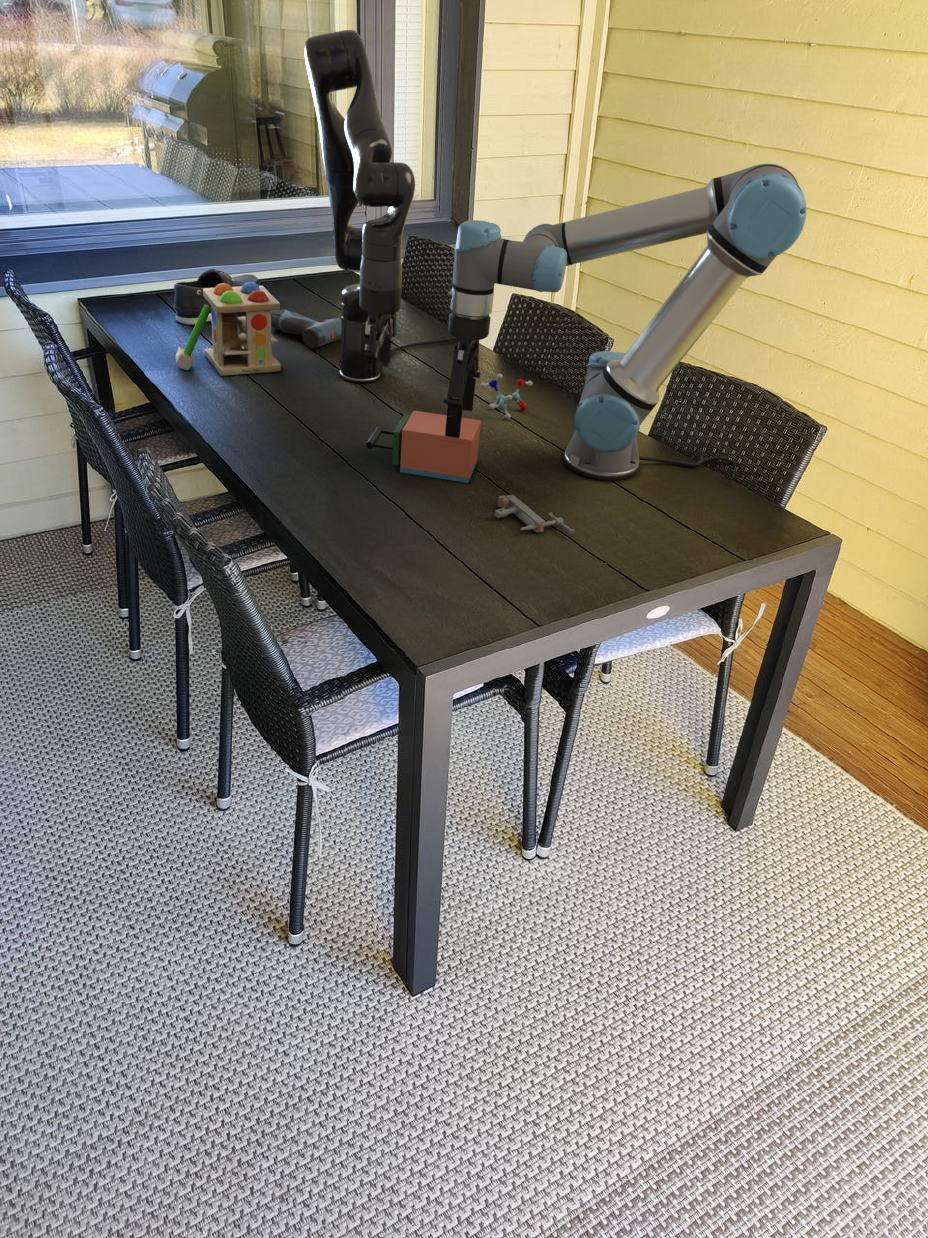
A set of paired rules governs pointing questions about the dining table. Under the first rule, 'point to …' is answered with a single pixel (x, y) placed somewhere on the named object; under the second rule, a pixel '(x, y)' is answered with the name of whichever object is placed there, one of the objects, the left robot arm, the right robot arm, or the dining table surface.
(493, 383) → the molecular model
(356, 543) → the dining table surface
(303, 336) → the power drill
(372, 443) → the drawer
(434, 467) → the cabinet
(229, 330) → the pounding bench toy
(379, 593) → the dining table surface
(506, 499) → the clamp
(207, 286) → the boat shoe
